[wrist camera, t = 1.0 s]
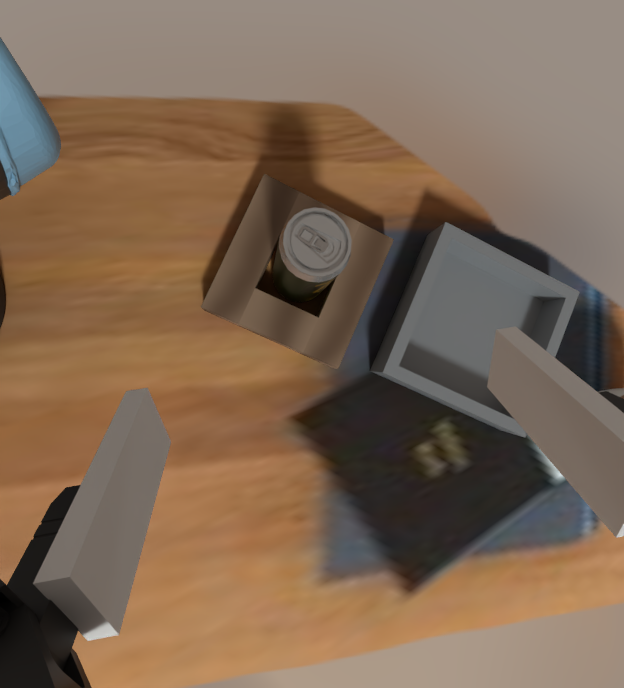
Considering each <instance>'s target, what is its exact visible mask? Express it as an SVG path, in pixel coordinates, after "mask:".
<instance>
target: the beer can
mask: <svg viewBox="0 0 624 688" xmlns="http://www.w3.org/2000/svg"><path fill="white" fill-rule="evenodd" d="M351 242H352V240H351V236H350V232H349V229H348V227H347V226H346V224H345V222H344V221H343V220H342V219H341V218H340V217H339V216H338V215H337V214H335V213H334V212H331V211H329V210H327V209H323V208H315V207H314V208H309V209H304V210H302V211H301V212H299V213H297V214H295V215H294V216H293V217H291V218H290V220H289V221H288V222H287V223H286V224H285V225H284V227H283V229H282V232H281V234H280V237H279V242H278V247H277V251H276V256H275V261H274V266H273V274H272V278H273V282H274V286H275V288H276V289H277V291H278V292H279V293H280V294H281V295H282V296H283V297H284V298H285V299H288V300H290V301H293V302H301V303H302V302H306V301H310V300H312V299H313V298H315V297H316V296H318V295H319V294H320V293H321V292H322V291H323V290H324V289H325V288H326V287H327V286H328V285H329V284H330V283H331V282H332V281H333V280H334V279H335V278H336V277H337V276H338V275H339V274H340V273H341V272H342V270H343V269H344V268H345V267H346V266H347V263H348V261H349V258H350V255H351Z"/></svg>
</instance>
